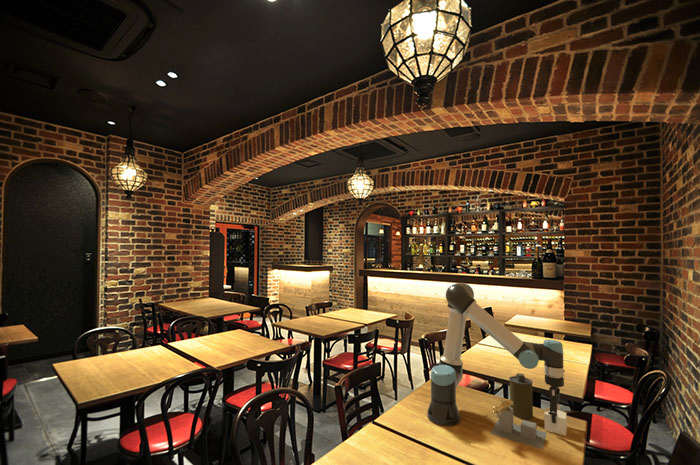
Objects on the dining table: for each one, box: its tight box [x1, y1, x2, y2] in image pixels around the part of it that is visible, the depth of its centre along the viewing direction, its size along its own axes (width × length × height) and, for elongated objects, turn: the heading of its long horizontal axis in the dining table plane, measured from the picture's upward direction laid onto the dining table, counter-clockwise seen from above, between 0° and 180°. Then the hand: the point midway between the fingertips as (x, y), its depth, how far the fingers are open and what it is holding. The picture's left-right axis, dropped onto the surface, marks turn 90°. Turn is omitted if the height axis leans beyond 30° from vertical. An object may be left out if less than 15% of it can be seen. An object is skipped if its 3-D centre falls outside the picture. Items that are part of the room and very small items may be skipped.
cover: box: [543, 407, 568, 437], centre depth 150 cm, size 8×8×8 cm
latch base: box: [490, 408, 548, 450], centre depth 146 cm, size 20×16×10 cm
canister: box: [508, 373, 534, 420], centre depth 164 cm, size 11×10×20 cm
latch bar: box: [491, 396, 513, 419], centre depth 145 cm, size 15×6×4 cm, turn 135°
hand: (555, 423), depth 150 cm, fingers open, 13 cm apart
